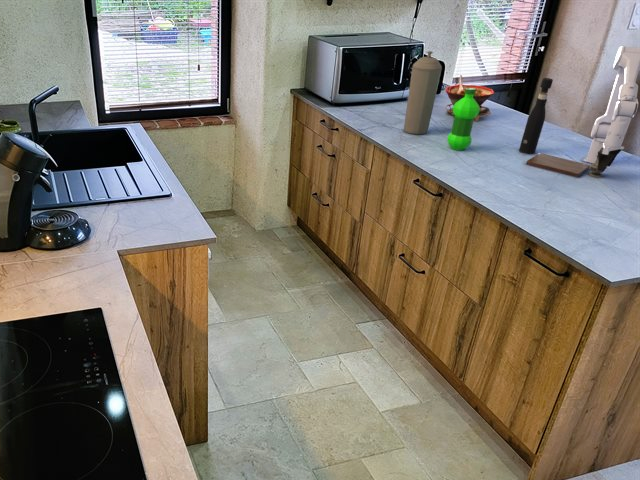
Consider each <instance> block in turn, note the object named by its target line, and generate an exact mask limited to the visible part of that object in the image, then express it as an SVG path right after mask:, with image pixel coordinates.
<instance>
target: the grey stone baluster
mask: <svg viewBox="0 0 640 480" xmlns="http://www.w3.org/2000/svg"><path fill="white" fill-rule="evenodd" d="M603 149H604V148H603V147H602V148H601V149H600V151H603ZM596 157H597V159H596V161H595V163H594V164H593V163H590V164H589V165H590V168H589V170H590V171H589V172H588V173H587V175H588V176H590V177H592V178H603V176H604V175H603V174H602V173H604V172H605V171H606V169H607V167H608V166H607V167H606V169H605V170H604V171H599V170H598V161H599V160H598V155H597V156H596Z"/></svg>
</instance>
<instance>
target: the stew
mask: <svg viewBox="0 0 640 480" xmlns="http://www.w3.org/2000/svg"><path fill="white" fill-rule="evenodd" d="M458 81H459V84H453V85H449V86H446V87H445V89H444V90H445V92H446V94H447V96H448V99H449V100H450V102H451V103H449V104H446V105H445V107H444V108H445V110H447V115H450V116H451V117H453V118H454V117H455V115H454V113H453V106H454V104H455V103H456V102H458V101H459V100H460V99H462V98H464V97H465V93H464V92H465V88H475V89H476V92H475V94H474V95H473V99H474V100H475V101H476V102H477V104H478V105H479V108H480V110H479V113H478V116H476V117H475V118H474V122H479V119H480V118H483V117H488V116H490V115H491V114H492V111H491V110H490V108H489V107H488V106H483V104H484V103H485V102H487V100H488V99H489V98H491V96H493V95H494V94H495V90H494V89H492V88H489V87H486V86H482V85H475V84H463V75H461V74H460V75H459V79H458ZM451 106H452V108H451ZM447 107H449V109H448V108H447Z"/></svg>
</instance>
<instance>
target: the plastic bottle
mask: <svg viewBox="0 0 640 480" xmlns="http://www.w3.org/2000/svg"><path fill="white" fill-rule="evenodd" d="M475 92H476V89H475V88H465V92H464V93H465V97H464V98H462V99H460V100H459V101H458V102H456V103H455V104H454V106H453V105H452V108H453V113H454V115H455V117H454V116H453V121H452V126H451V131H450V133H449V134H448V136H447V143H448V145H449V147H450V148H451V149H452V150H454V151H463V150H465V149H467V148H468V147H470V145H471V143H472V140H473V139H472V135H471V133H472V130H473V126H474V122H475V121H474V118H476V116H478V113H479V110H480V108H479V105H478V104H477V102H476V101H475V100H474V99H473V95H474V94H475Z"/></svg>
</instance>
